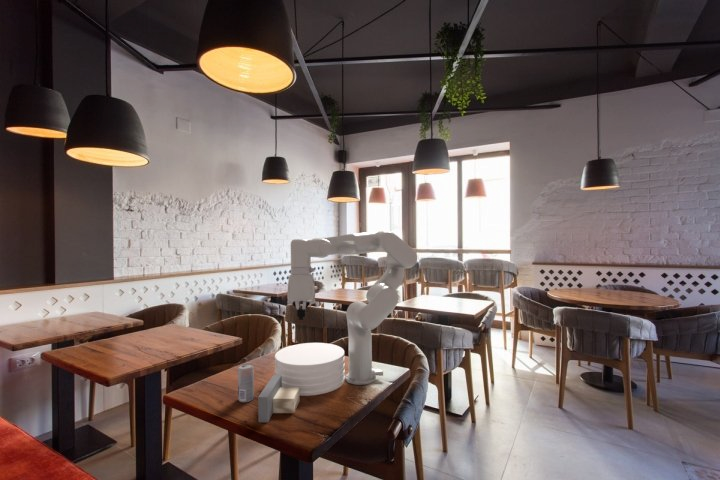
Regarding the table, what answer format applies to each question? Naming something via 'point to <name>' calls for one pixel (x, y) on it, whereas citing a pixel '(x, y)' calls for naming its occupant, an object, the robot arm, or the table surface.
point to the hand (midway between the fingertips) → (301, 319)
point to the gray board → (268, 398)
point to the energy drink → (245, 383)
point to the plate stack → (311, 367)
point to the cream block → (286, 400)
